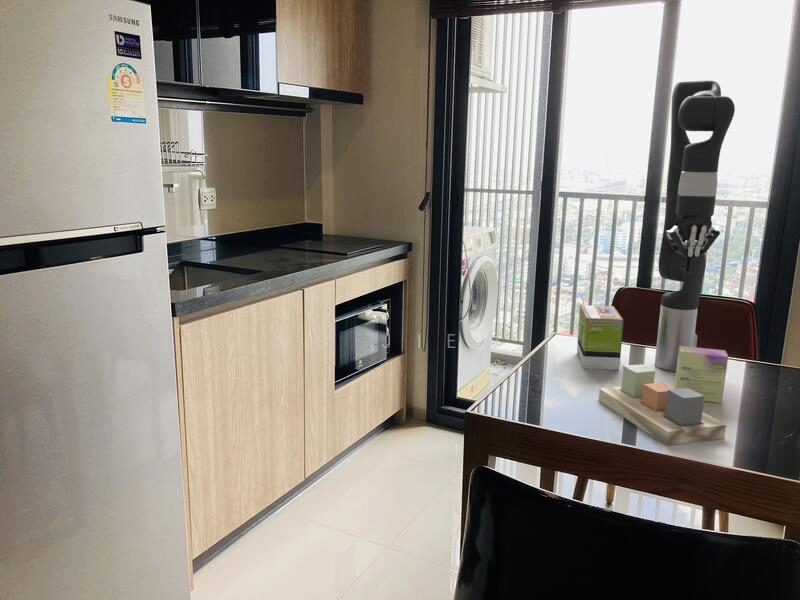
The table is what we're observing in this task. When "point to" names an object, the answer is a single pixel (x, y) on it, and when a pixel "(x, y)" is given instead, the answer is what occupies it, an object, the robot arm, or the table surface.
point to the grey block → (684, 407)
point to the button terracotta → (655, 396)
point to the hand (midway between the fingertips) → (687, 272)
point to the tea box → (599, 337)
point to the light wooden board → (660, 420)
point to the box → (702, 371)
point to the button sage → (636, 379)
